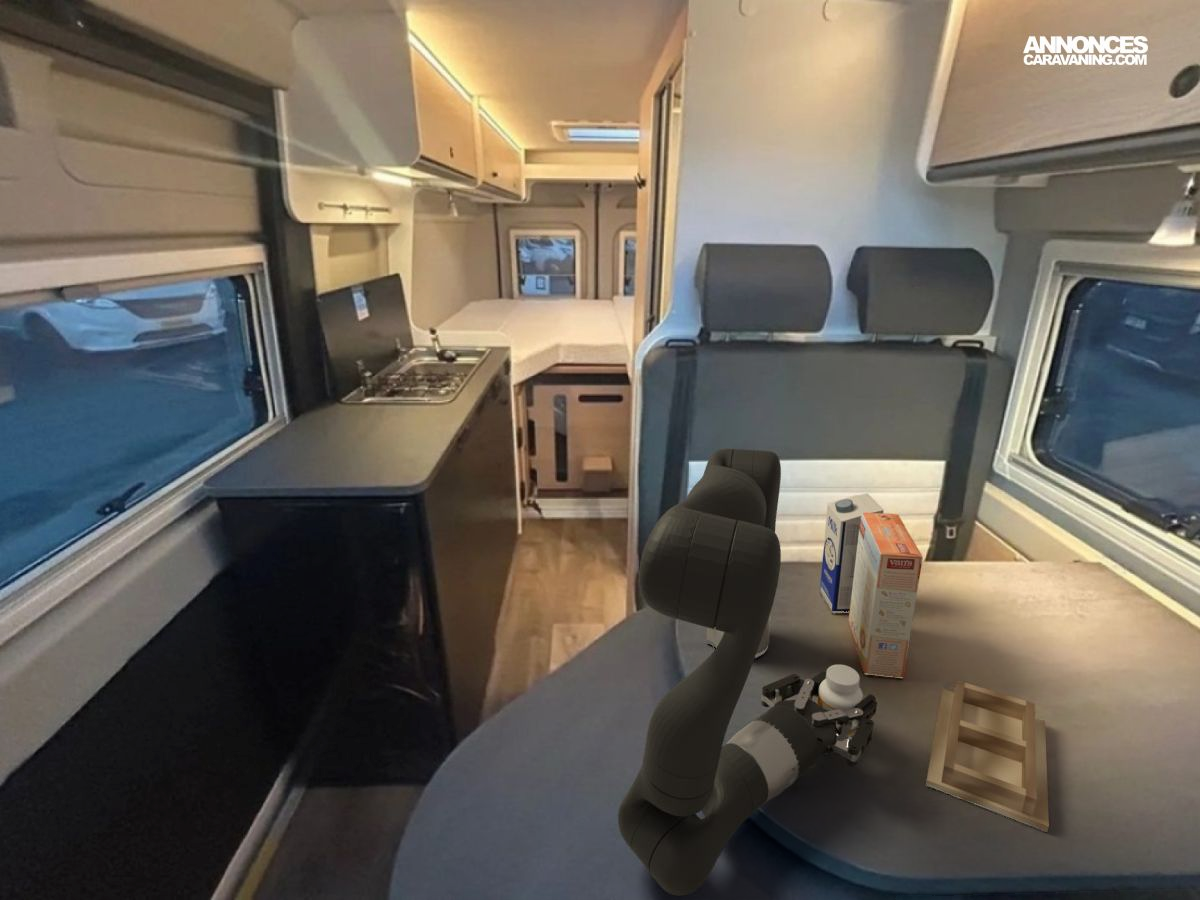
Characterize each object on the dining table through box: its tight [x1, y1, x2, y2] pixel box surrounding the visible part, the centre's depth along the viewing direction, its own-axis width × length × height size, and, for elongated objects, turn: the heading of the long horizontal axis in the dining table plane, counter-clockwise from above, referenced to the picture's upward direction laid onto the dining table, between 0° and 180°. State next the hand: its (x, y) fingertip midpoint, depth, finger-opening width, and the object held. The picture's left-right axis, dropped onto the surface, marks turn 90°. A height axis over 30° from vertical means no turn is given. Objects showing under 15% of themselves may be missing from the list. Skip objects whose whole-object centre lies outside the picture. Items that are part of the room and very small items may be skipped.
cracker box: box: [847, 512, 924, 678], centre depth 95 cm, size 14×6×21 cm, turn 168°
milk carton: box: [819, 493, 885, 612], centre depth 107 cm, size 7×7×20 cm
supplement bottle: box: [816, 664, 864, 741], centre depth 81 cm, size 5×5×10 cm
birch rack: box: [925, 680, 1050, 833], centre depth 78 cm, size 12×18×4 cm, turn 147°
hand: (851, 688), depth 82 cm, fingers closed on supplement bottle, 5 cm apart
